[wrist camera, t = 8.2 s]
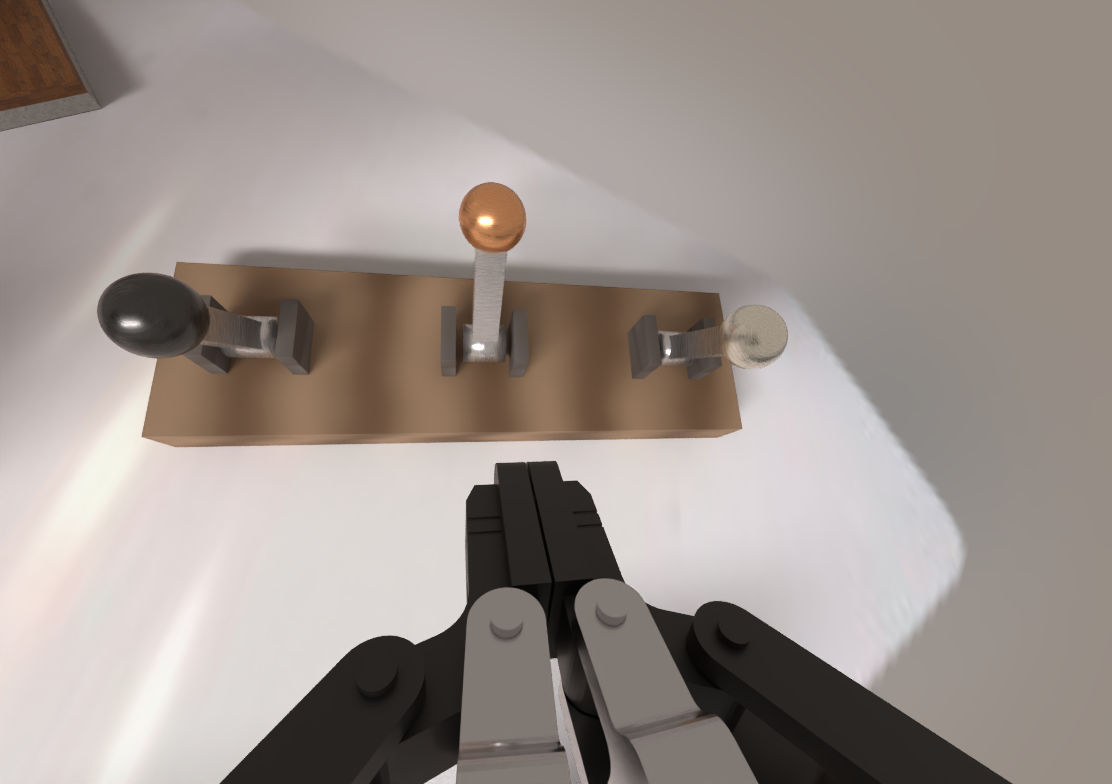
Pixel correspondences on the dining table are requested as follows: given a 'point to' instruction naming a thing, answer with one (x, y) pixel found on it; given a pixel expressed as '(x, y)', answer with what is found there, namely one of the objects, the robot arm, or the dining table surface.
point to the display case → (37, 67)
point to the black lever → (178, 320)
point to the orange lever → (489, 264)
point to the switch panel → (438, 364)
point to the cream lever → (730, 340)
